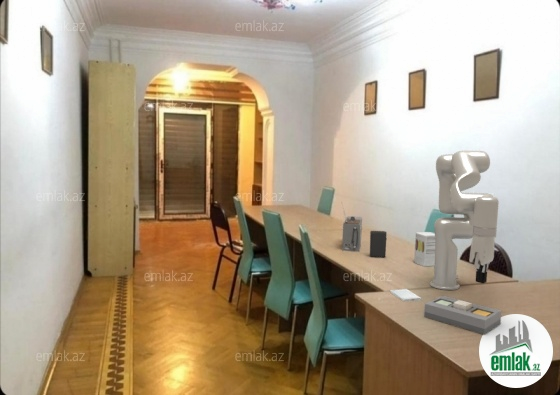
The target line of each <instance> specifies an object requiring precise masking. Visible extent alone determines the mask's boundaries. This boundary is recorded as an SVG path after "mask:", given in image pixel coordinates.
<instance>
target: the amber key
mask: <svg viewBox="0 0 560 395" xmlns="http://www.w3.org/2000/svg"><path fill="white" fill-rule="evenodd" d="M473 313H475V314H479V315H483V316H489V315H491V313H489V312H485V311H481V310H476V311H475V312H473Z"/></svg>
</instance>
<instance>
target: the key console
mask: <svg viewBox="0 0 560 395" xmlns="http://www.w3.org/2000/svg"><path fill="white" fill-rule="evenodd" d="M440 300H443V301H447V302H451V303H453V304H454V302H456V301H458V300H459V299H458V298H454V297H450V296H445V295H441V296H438V297H437V298H434V299H432V300H430V301H428V302H426V303H424V310H423V311H424V312H423V316H424V318H427V317H428V318H427V319H430V318H431V319H430V320H433V319H434V321H436V322H440V323H443V322H444V324H447V325H451V326H453V325H454V327H458V328H460V329H463V328H464V330H467V329H468V330H467V331H470V330H471V332H473V331H474V333H477V334H481V335H484V336H485V335H486V334H488V333H489V332H491V331H492V330H494V329H495V328H497V327H498V326H500V325H501V323H502V322H501V321H502V310H501V309H497V308H494V307H489V306H485V305H480V304H477V303H473V302H469V301H468V302H469V303H472V306H471V309H470V310H468V311H464V310H461V309H457V308H453V304H451V305H449V306H446V305H442V304H438V303H436V302H438V301H440ZM460 300H461V301H463V300H462V299H460ZM464 301H465V300H464ZM465 302H467V301H465ZM476 310H481V311H485V312H489V313H491V315H489V316H483V315H479V314H475V313H473V312H475V311H476Z"/></svg>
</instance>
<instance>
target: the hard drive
mask: <svg viewBox="0 0 560 395" xmlns="http://www.w3.org/2000/svg"><path fill="white" fill-rule="evenodd" d="M389 293H390V294H392V295H393V296H395V297H396V298H398V300H400V301H402V302H417V301H418V302H419V301H423V299H422V297H420V296H419V295H417V294H415V293H414V292H413V291H411V290H409V289H407V288H401V289H390V290H389Z"/></svg>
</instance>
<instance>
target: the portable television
mask: <svg viewBox="0 0 560 395" xmlns="http://www.w3.org/2000/svg"><path fill="white" fill-rule="evenodd" d="M341 205H342V210H343V215H344V218H345V219H344V222H343V223H342V251H345V252H360V251H361V246H362V245H361V244H362V229H363V227H362V226H363V218H362V216H346V212H345V209H344V206H343V201H341Z"/></svg>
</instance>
